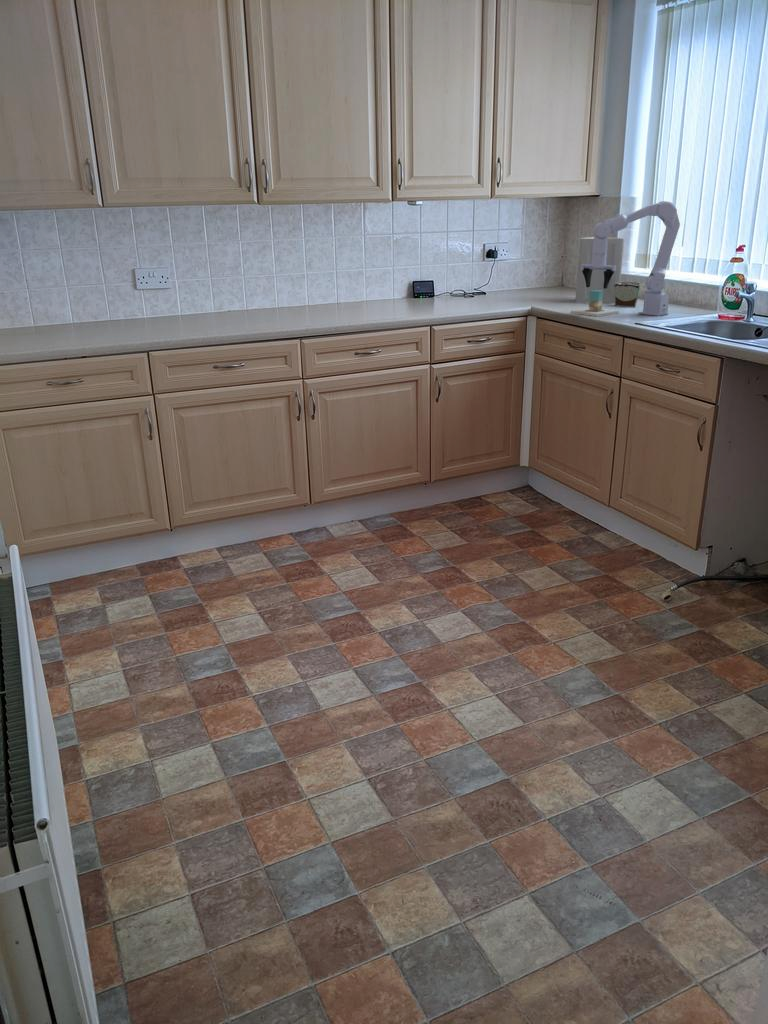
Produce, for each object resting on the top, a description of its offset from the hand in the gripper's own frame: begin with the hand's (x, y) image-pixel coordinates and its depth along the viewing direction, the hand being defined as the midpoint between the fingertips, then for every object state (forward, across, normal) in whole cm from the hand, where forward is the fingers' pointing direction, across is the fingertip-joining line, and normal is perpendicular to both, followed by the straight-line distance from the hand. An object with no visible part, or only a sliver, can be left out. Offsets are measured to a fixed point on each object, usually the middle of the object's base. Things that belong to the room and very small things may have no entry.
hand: (596, 287), depth 348 cm
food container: (+11, -2, -30) cm, 32 cm away
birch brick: (+9, 0, 0) cm, 9 cm away
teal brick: (+5, 0, 0) cm, 5 cm away
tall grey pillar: (+11, +16, -37) cm, 41 cm away
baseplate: (+10, 0, 0) cm, 10 cm away
